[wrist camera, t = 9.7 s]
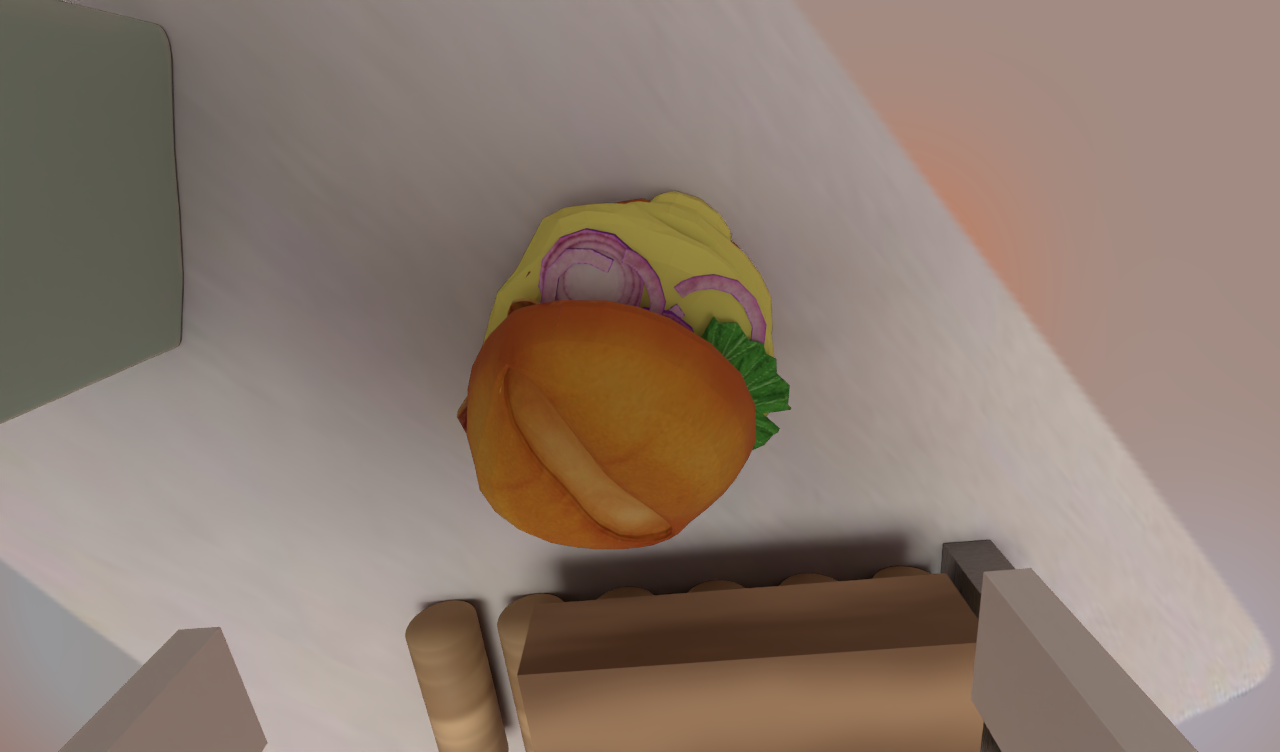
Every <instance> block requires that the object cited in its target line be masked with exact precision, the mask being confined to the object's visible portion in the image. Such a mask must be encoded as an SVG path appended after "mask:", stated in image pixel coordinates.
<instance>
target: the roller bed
mask: <svg viewBox="0 0 1280 752" xmlns="http://www.w3.org/2000/svg"><path fill="white" fill-rule="evenodd" d="M929 574H930V573H928V572H926V571H924V570H921V569H917V568H913V567H907V566H894V567H888V568H885V569H882V570H880V571H879V572H877V573H876V574H875V575H874V576H873V578H872V579H877V578H890V577H903V576H916V575H929ZM824 582H837V581H836V580H835V579H833V578H831V577H828V576H825V575H821V574H815V573H803V574H797V575H794V576H791V577H789V578H787V579H785V580H784V581H783V582H782V583H781V584H780V585H779V586H785V585H798V584H811V583H824ZM732 589H745V588H744V587H743V586H741V585H739V584H737V583H734V582H731V581H725V580H712V581H707V582H703V583H701V584H698V585H696V586H695V587H693V588H692V589H691V590H690V591H689V592H688V593H693V592H706V591H719V590H732ZM640 596H653V594H652V593H650V592H649V591H647V590H644V589H642V588H637V587H622V588H617V589H614V590H611V591H609V592H607V593H605V594H603V595H602V596H600V597H599V598H598V599H597V600H600V599H614V598H627V597H640ZM561 602H563V601H562V600H561V599H560V598H558V597H556V596H554V595H550V594H533V595H528V596H525V597H522V598H520V599H518V600H516V601H514V602H513V603H511V604H510V605H509V606H508V607H506V608H505V609H504V611H503V612H502V613H501V615H500V617H499V619H498V623H497V627H498V632H499V637H500V641H501V645H502V650H503V654H504V658H505V663H506V667H507V672H508V676H509V680H510V685H511V689H512V693H513V698H514V702H515V707H516V711H517V715H518V720H519V724H520V728H521V733H522V737H523V742H524V746H525V750H526V752H534V750H533V745H532V741H531V736H530V732H529V727H528V723H527V718H526V714H525V709H524V705H523V700H522V696H521V691H520V687H519V682H518V678H517V673H518V669H519V665H520V661H521V657H522V653H523V649H524V645H525V641H526V636H527V632H528V628H529V624H530V620H531V616H532V612H533V608H534V605H535V604H548V603H561ZM405 637H406V641H407V645H408V648H409V651H410V655H411V658H412V661H413V665H414V668H415V672H416V675H417V678H418V682H419V685H420V689H421V692H422V695H423V699H424V702H425V705H426V709H427V712H428V716H429V719H430V722H431V726H432V729H433V733H434V736H435V739H436V743H437V746H438V750H439V752H508V742H507V738H506V734H505V730H504V726H503V721H502V717H501V713H500V709H499V705H498V701H497V696H496V692H495V688H494V684H493V680H492V676H491V672H490V667H489V663H488V659H487V655H486V651H485V647H484V642H483V638H482V634H481V630H480V626H479V622H478V618H477V613H476V610H475V608H474V607H473V606H472V605H471V604H469V603H467V602H464V601H459V600H451V601H444V602H440V603H437V604H435V605H432V606H430V607H428V608H426V609H425V610H423V611H422V612H420V613H419V614H418V615H417V616H415V617H414V619H413V620H412V621H411V622H410V623H409V625H408V627H407V629H406V635H405Z"/></svg>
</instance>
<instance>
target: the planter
mask: <svg viewBox="0 0 1280 752" xmlns="http://www.w3.org/2000/svg"><path fill="white" fill-rule="evenodd" d="M182 291H183V269H182V251H181V234H180V217H179V204H178V192H177V179H176V167H175V155H174V132H173V102H172V63H171V51H170V45H169V41H168V38H167V36H166V33H165V32H164V30H163V29H162V28H161V27H160V26H159V25H157V24H154V23H150V22H146V21H142V20H138V19H134V18H130V17H125V16H121V15H117V14H113V13H109V12H105V11H101V10H96V9H92V8H88V7H84V6H80V5H76V4H72V3H67V2H63V1H59V0H0V424H1V423H4V422H6V421H8V420H11V419H13V418H15V417H17V416H20V415H22V414H24V413H27V412H29V411H31V410H33V409H36V408H38V407H40V406H43V405H45V404H47V403H49V402H52V401H54V400H56V399H59V398H61V397H63V396H65V395H68V394H70V393H72V392H75V391H77V390H79V389H81V388H84V387H86V386H88V385H91V384H93V383H95V382H97V381H100V380H102V379H104V378H106V377H109V376H111V375H113V374H116V373H118V372H120V371H122V370H125V369H127V368H129V367H132V366H134V365H136V364H138V363H141V362H143V361H145V360H148V359H150V358H152V357H155V356H157V355H160V354H162V353H164V352H167V351H169V350H171V349H174V348H175V347H177V346H178V345H179V343H180V340H181V315H182Z"/></svg>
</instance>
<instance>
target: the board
mask: <svg viewBox="0 0 1280 752" xmlns="http://www.w3.org/2000/svg"><path fill="white" fill-rule="evenodd" d="M978 622H979V620H978V619H977V617H976V616H975V614H974V613H973V611H972V610H971V609H970V607H969V606H968V604H967V603H966V601H965V600H964V598H963V597H962V596H961V594H960V593H959V591H958V590H957V588H956V587H955V585H954V584H953V583H952V581H951V580H950V578H949V577H948V575H947V574H946V573H942V574H929V575H916V576H903V577H890V578H877V579H863V580H850V581H837V582H824V583H811V584H798V585H785V586H771V587H758V588H745V589H732V590H719V591H706V592H693V593H679V594H666V595H653V596H640V597H627V598H614V599H600V600H587V601H574V602H561V603H548V604H535V605H534V608H533V612H532V616H531V620H530V624H529V628H528V632H527V636H526V641H525V645H524V649H523V653H522V657H521V661H520V665H519V669H518V673H517V678H518V682H519V687H520V691H521V696H522V700H523V705H524V709H525V714H526V718H527V723H528V727H529V732H530V736H531V741H532V745H533V750H534V752H980V748H981V740H982V731H983V723H984V721H983V719H982V717H981V716H980V714H979V712H978V710H977V709H976V707H975V705H974V704H973V702H972V700H971V692H972V682H973V672H974V662H975V652H976V642H977V632H978Z"/></svg>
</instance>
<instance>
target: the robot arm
mask: <svg viewBox="0 0 1280 752" xmlns="http://www.w3.org/2000/svg"><path fill="white" fill-rule="evenodd" d="M971 700H972V702H973V704H974V705H975V707H976V709H977V710H978V712H979V714H980V716H981V717H982V719H983V721H984V722H985V724H986V726H987V728H988V729H989V731H990V733H991V734H992V736H993V738H994V740H995V741H996V743H997V745H998V746H999V748H1000V750H1001V752H1198V751H1197V750H1196V749H1195V748H1194V747H1193V746H1192V744H1191V743H1190V742H1189V741H1188V740H1187V739H1186V738H1185V737H1184V736H1183V735H1182V733H1181V732H1180V731H1179V730H1178V729H1177V728H1176V727H1175V726H1174V725H1173V724H1172V722H1171V721H1170V720H1169V719H1168V718H1167V717H1166V716H1165V715H1164V714H1163V713H1162V711H1161V710H1160V709H1159V708H1158V707H1157V706H1156V705H1155V704H1154V703H1153V702H1152V700H1151V699H1150V698H1149V697H1148V696H1147V695H1146V694H1145V693H1144V692H1143V691H1142V689H1141V688H1140V687H1139V686H1138V685H1137V684H1136V683H1135V682H1134V681H1133V680H1132V679H1131V677H1130V676H1129V675H1128V674H1127V673H1126V672H1125V671H1124V670H1123V669H1122V668H1121V666H1120V665H1119V664H1118V663H1117V662H1116V661H1115V660H1114V659H1113V658H1112V657H1111V655H1110V654H1109V653H1108V652H1107V651H1106V650H1105V649H1104V648H1103V647H1102V646H1101V644H1100V643H1099V642H1098V641H1097V640H1096V639H1095V638H1094V637H1093V636H1092V635H1091V633H1090V632H1089V631H1088V630H1087V629H1086V628H1085V627H1084V626H1083V625H1082V624H1081V622H1080V621H1079V620H1078V619H1077V618H1076V617H1075V616H1074V615H1073V614H1072V613H1071V611H1070V610H1069V609H1068V608H1067V607H1066V606H1065V605H1064V604H1063V603H1062V602H1061V601H1060V599H1059V598H1058V597H1057V596H1056V595H1055V594H1054V593H1053V592H1052V591H1051V590H1050V588H1049V587H1048V586H1047V585H1046V584H1045V583H1044V582H1043V581H1042V580H1041V579H1040V577H1039V576H1038V575H1037V574H1036V573H1035V572H1034V571H1033V570H1032V569H1031V568H1028V569H1014V570H1000V571H986V572H983V582H982V592H981V602H980V612H979V622H978V632H977V642H976V652H975V662H974V672H973V682H972V692H971ZM266 744H267V740H266V738H265V736H264V733H263V731H262V728H261V726H260V723H259V721H258V718H257V716H256V713H255V711H254V709H253V706H252V704H251V701H250V699H249V696H248V694H247V691H246V689H245V686H244V684H243V682H242V679H241V677H240V674H239V672H238V669H237V667H236V664H235V662H234V660H233V657H232V655H231V652H230V650H229V647H228V645H227V642H226V640H225V637H224V635H223V633H222V630H221V628H220V627H212V628H198V629H184V630H178V631H177V632H176V633H175V634H174V635H173V636H172V637H171V638H170V639H169V640H168V641H167V642H166V643H165V644H164V645H163V646H162V647H161V648H160V649H159V650H158V651H157V652H156V653H155V654H154V655H153V656H152V657H151V658H150V659H149V660H148V661H147V662H146V663H145V664H144V665H143V666H142V667H141V668H140V670H138V671H137V673H135V675H134V676H133V677H132V678H130V680H129V681H128V682H127V683H126V684H125V685H124V686H123V687H122V688H121V689H120V690H119V691H118V692H117V693H116V694H115V695H114V696H113V697H112V698H111V699H110V700H109V701H108V702H107V703H106V704H105V705H104V706H103V707H102V708H101V709H100V710H99V711H98V712H97V713H96V714H95V715H94V716H93V717H92V718H91V719H90V720H89V721H88V722H87V723H86V724H85V725H84V726H83V727H82V728H81V729H80V730H79V731H78V732H77V733H76V734H75V735H74V736H73V737H72V738H71V739H70V740H69V741H68V742H67V743H66V744H65V745H64V746H63V747H62V748H61V749H60V750H59V751H58V752H262V751H263V749H264V747H265V746H266Z"/></svg>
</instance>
